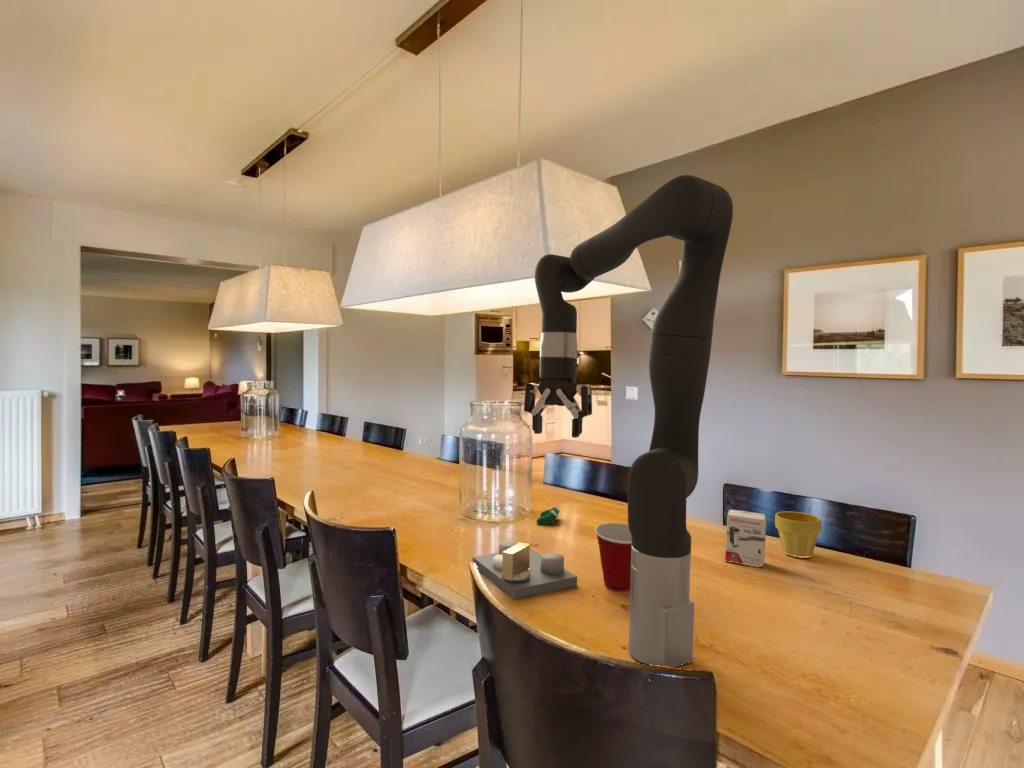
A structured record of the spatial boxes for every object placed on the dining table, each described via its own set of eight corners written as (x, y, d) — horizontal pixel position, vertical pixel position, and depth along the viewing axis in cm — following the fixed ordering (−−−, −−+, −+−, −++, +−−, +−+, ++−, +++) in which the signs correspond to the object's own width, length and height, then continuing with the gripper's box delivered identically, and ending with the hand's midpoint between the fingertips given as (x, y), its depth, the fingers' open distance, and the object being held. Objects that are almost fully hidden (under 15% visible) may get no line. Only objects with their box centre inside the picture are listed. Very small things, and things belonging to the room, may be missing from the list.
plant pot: (764, 549, 140) (766, 511, 140) (797, 546, 143) (798, 509, 143) (795, 563, 130) (797, 523, 130) (830, 560, 133) (831, 520, 133)
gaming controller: (543, 532, 157) (558, 519, 156) (534, 522, 158) (549, 508, 157) (548, 523, 166) (562, 510, 165) (539, 513, 167) (554, 501, 166)
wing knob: (519, 585, 108) (520, 555, 108) (494, 579, 111) (495, 549, 111) (536, 574, 114) (537, 545, 114) (512, 568, 117) (512, 540, 117)
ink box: (724, 562, 130) (725, 513, 130) (726, 556, 134) (728, 509, 134) (763, 569, 126) (765, 519, 126) (764, 562, 130) (766, 514, 130)
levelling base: (576, 585, 114) (577, 562, 114) (514, 599, 107) (515, 574, 107) (528, 555, 132) (529, 535, 131) (472, 565, 124) (472, 543, 124)
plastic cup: (606, 599, 108) (608, 539, 107) (584, 578, 118) (586, 524, 118) (655, 594, 111) (656, 536, 110) (630, 574, 121) (631, 521, 121)
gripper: (518, 354, 110) (517, 434, 111) (583, 355, 103) (581, 440, 103) (536, 355, 116) (534, 430, 117) (598, 356, 109) (596, 436, 110)
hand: (556, 435), depth 110 cm, fingers open, 8 cm apart
